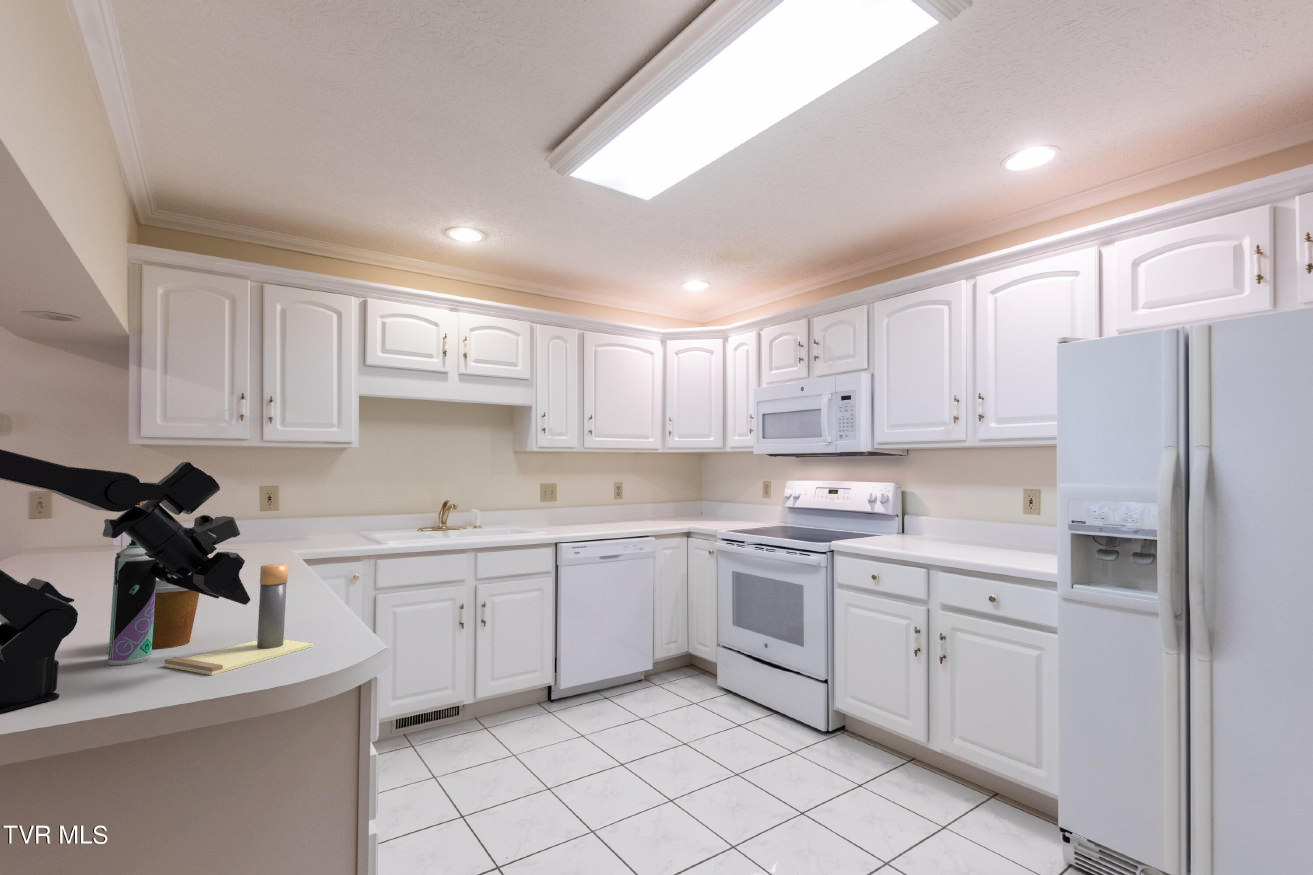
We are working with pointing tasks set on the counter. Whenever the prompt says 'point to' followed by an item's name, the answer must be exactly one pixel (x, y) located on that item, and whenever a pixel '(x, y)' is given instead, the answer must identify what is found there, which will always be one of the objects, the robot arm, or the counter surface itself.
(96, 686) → the counter surface
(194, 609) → the disposable coffee cup
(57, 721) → the counter surface
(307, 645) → the legal pad
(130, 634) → the spray can
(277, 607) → the ball
